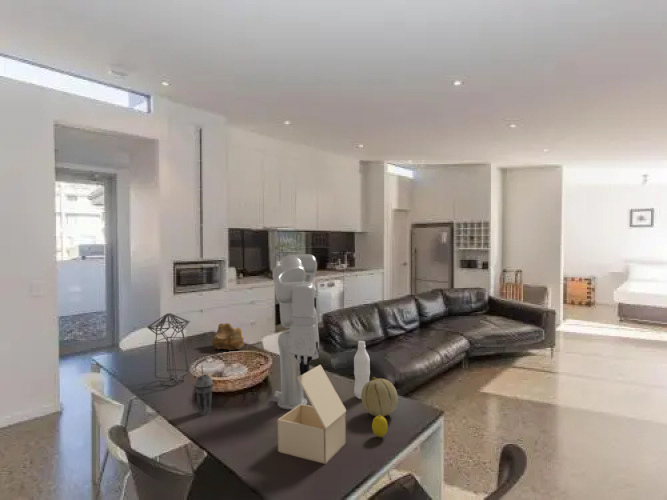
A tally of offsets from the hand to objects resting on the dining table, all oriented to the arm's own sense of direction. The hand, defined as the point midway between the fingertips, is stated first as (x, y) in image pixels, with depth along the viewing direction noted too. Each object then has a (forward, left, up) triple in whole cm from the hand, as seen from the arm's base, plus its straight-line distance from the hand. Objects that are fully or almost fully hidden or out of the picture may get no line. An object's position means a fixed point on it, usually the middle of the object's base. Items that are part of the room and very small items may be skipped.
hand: (304, 374), depth 150 cm
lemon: (+21, +17, -25) cm, 37 cm away
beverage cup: (-52, +7, -25) cm, 59 cm away
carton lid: (+7, 0, -6) cm, 9 cm away
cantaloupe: (+14, +35, -25) cm, 45 cm away
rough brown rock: (-114, +91, -25) cm, 148 cm away
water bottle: (0, +50, -25) cm, 56 cm away
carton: (+3, 0, -25) cm, 25 cm away
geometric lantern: (-94, +28, -25) cm, 102 cm away
